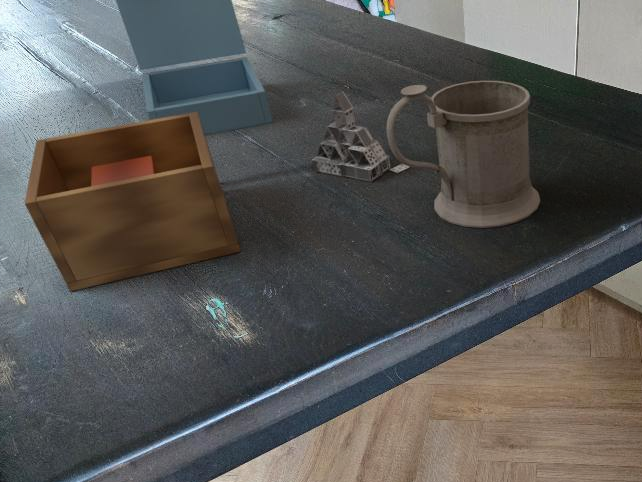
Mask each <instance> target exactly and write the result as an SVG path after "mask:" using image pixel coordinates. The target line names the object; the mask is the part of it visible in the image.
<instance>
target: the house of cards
mask: <svg viewBox="0 0 642 482" xmlns="http://www.w3.org/2000/svg"><path fill="white" fill-rule="evenodd" d="M353 109H354V106H353V105H352V103H351V102H350V100H349V98H348V97H347V95H346V93H345V92H344V90H343V91H340V92H338V93H336V94H335V95H334V98H333V101H332V106H331V109H330V111H332V113H333V119H334V122H332V123H331V124H329V125H327V127H326V129H325V134H324V137H323V141H321V142H320V143H319V146H318V150H317V152H316V153H317V154H316V156H315V157H314V158H312V159H311V161H312V165H313V170H314V173H316V172H317V173H318V172H319V173H324V174H328V175H335V176H338V177H339V176H340V177H341V178H343V177H345V178H346V177H347V178H351V179H356V180H360V181H361V180H362V181H367V182H370V183H371V182H373V181H374V180H376V179H377V178H378V177H380V176H383V175H384V173H385V172H387V170H389V171H392V172H394V173H396V174H399V173H400V172H403V171H405V170H407V169H409V168H410V166H407V165H405V164H403V163H400V164H399V165H396V166H395V167H393V168H391V163H390V162H391V161H390V155H389V154H388V155H387V154H386V152H385V150H384V149H383V147H382V146H381V144H380V142H379V141H378V140H376V139H374V138H373V136H372V135H371V133H370V131H369V129H368V128H367V127H366V126H365V127H363V126H359V125H356V122H355V115H354V110H353ZM343 113H344V115H343ZM344 117H345V118H344Z"/></svg>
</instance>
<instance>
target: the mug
mask: <svg viewBox="0 0 642 482" xmlns="http://www.w3.org/2000/svg"><path fill="white" fill-rule="evenodd" d="M427 88H428V87H427V86H426V85H424V84H414V85H408V86H406V87H404V88H402V89H401V90H400V94H401V95H405V96H403V97H402V98H401V99H400V100H399V101H397V102H396V103H395V104H394V105H393V106H392V108H391V109H390V112H389V114H388V117H387V121H386V137H387V141H388V145H389V147H390V150H391V152H392V154H393V155H394V158H395V159H396V160H398V162H400V164H404V165H407V166H409V168H413V169H414V168H415V169H424V170H425V169H426V170H431V171H433V172H434V174H436V175H438V177H440V181H441V184H440V192H439V193H438V194H437V196H436V198H435V199H434V202H433V204H434V211H435V213H436V214H437V216H439V218H441V219H442V220H444V221H446V222H447V223H450V224H452V225H456V226H459V227H460V226H461V227H464V228H476V229H488V228H499V227H505V226H508V225H512V224H516V223H518V222H520V221H523V220H524V219H527V218H529V217H530V216H531V215H532V214H534V213H535V212H536V211H537V210H538V209H539V205H540V204H541V197H540V194H539V192H538V191H537V189H536V188H534V186H533V185H532V181H531V178H530V173H531V172H530V141H529V140H530V139H529V110H528V109H529V105H530V103H531V95H530V92H529V90H527V89H526V88H525V87H523V86H521V85H519V84H515V83H512V82H508V81H507V82H506V81H502V80H476V81H474V80H473V81H467V82H466V81H465V82H461V83H456V84H452V85H449V86H446V87H443V88H441V89H439V90H438V91H436V92H434V93H433V94H432V95H431V96H429V95H428V94H426V93H425V92H426V91H427ZM418 100H422V101H424V103H426V104H427V106H428V108H429V112H427V113H426V119H427V126H428V127H430V128H433V129H435V136H436V145H437V153H438V162H439V164H436V163H435V164H434V163H432V162H427V161H415V160H412V159H409V158H406V157H405V156H404V155H403V154H402V153H401V152H400V150H399V148H398V146H397V142H396V139H395V130H394V127H395V121H396V118H397V116H398V114H399V113H400V112H401V110H402V109H403V108H404V107H405V106H407V104H410V103H411V102H414V101H418Z"/></svg>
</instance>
